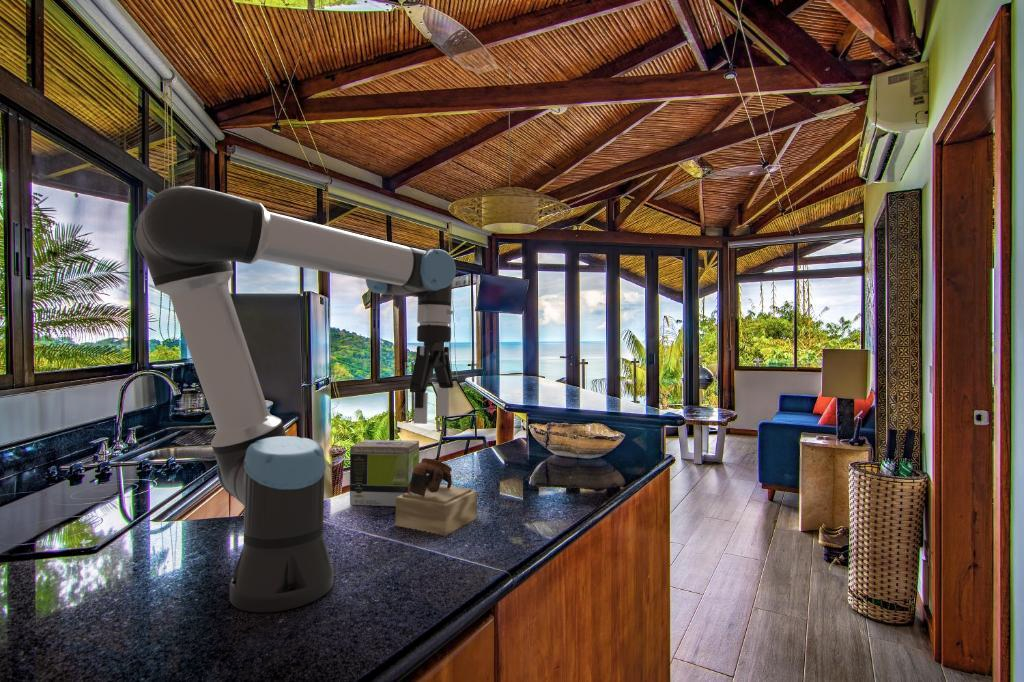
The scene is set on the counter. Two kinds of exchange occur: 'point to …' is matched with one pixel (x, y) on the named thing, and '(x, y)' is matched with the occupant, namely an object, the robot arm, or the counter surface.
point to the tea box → (381, 471)
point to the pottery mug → (429, 476)
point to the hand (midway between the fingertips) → (432, 419)
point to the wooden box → (437, 509)
